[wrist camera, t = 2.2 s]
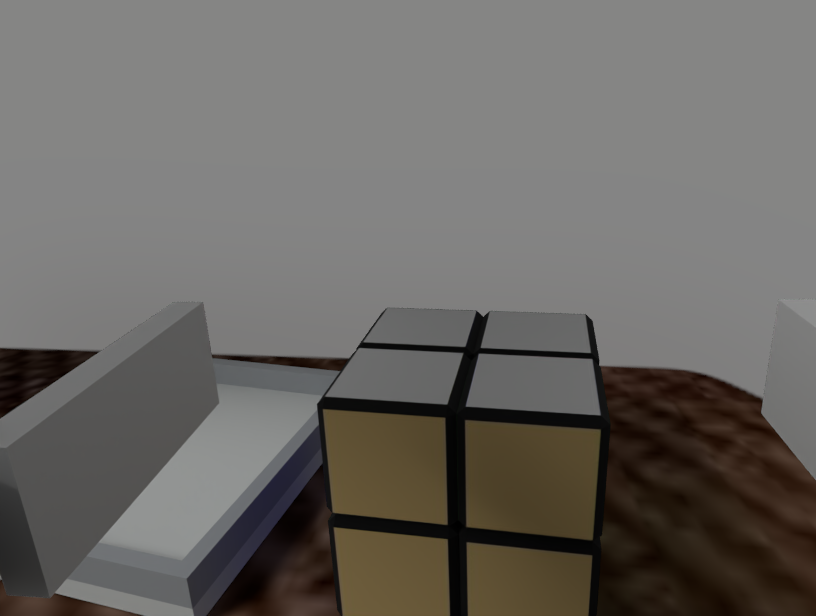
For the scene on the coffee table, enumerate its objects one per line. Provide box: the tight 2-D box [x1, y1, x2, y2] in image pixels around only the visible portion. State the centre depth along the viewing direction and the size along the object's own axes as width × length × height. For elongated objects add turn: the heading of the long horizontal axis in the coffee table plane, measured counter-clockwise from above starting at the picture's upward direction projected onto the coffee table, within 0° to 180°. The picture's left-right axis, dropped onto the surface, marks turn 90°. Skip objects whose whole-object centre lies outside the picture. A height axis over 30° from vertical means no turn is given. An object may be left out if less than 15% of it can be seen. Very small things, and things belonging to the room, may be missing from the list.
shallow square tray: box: [0, 358, 340, 616], centre depth 36 cm, size 19×19×2 cm
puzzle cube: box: [317, 308, 610, 616], centre depth 27 cm, size 10×10×10 cm
